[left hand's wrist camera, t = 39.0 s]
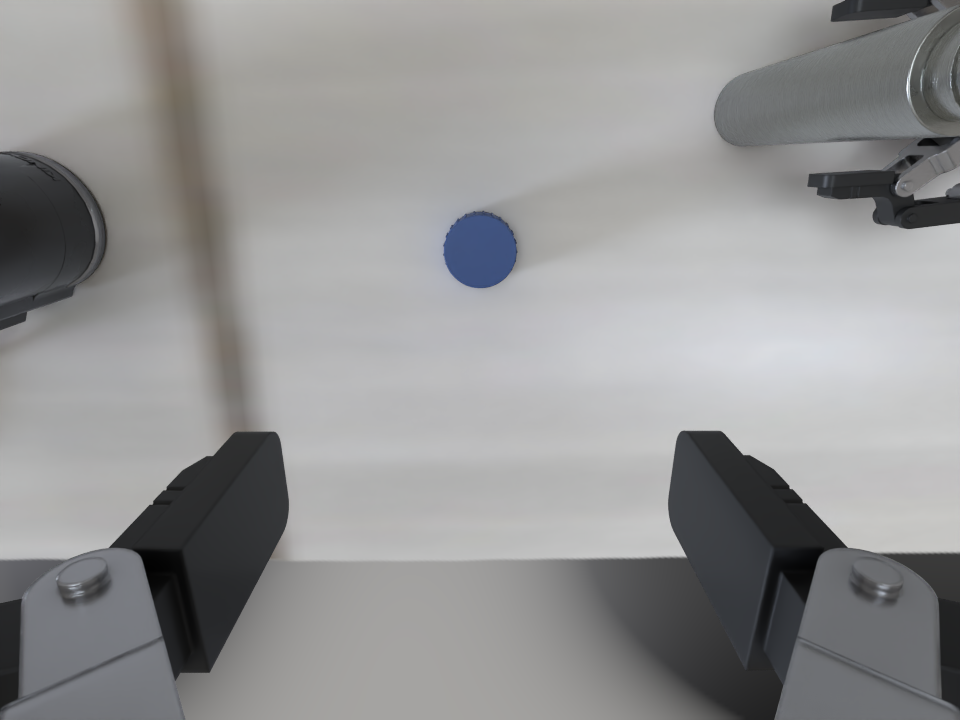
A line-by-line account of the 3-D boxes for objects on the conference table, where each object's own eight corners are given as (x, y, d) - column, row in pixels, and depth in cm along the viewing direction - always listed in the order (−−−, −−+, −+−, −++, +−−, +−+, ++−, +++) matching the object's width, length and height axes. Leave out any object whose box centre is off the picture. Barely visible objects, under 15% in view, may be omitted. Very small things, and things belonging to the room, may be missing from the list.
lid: (528, 234, 39) (531, 238, 37) (492, 294, 41) (493, 302, 38) (467, 196, 38) (466, 199, 36) (432, 259, 40) (429, 266, 38)
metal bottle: (704, 138, 37) (931, 118, 18) (728, 65, 36) (1001, -38, 17) (767, 152, 37) (1053, 147, 19) (793, 80, 36) (1133, -4, 17)
